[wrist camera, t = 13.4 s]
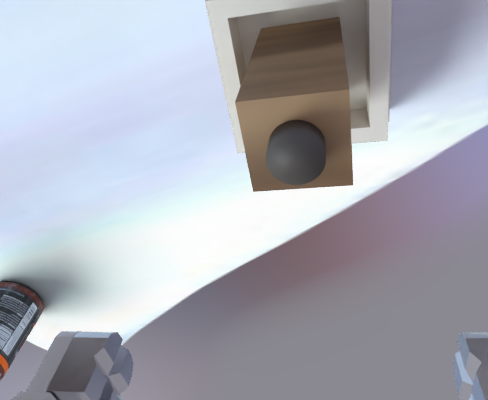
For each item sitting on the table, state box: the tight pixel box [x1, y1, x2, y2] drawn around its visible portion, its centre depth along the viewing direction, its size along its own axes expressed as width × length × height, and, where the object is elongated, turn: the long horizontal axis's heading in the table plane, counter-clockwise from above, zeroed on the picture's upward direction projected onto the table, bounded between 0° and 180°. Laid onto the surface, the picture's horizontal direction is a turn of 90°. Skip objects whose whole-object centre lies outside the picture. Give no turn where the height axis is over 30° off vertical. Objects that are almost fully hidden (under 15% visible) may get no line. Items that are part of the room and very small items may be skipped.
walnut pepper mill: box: [235, 17, 353, 192], centre depth 22 cm, size 4×4×11 cm
